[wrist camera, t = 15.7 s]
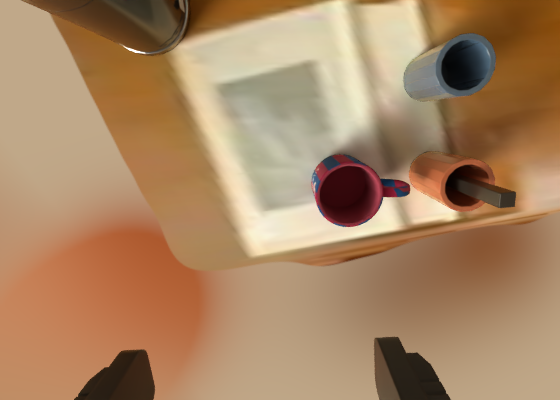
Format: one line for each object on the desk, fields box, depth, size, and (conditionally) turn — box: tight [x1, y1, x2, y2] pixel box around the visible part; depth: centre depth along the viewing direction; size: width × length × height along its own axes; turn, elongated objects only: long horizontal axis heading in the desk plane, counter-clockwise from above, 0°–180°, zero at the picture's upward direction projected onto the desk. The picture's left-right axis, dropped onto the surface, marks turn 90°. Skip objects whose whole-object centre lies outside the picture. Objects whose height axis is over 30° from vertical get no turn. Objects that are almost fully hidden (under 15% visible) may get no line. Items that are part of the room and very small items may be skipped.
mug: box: [312, 154, 410, 227], centre depth 34 cm, size 7×10×7 cm
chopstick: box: [445, 172, 516, 208], centre depth 30 cm, size 1×1×13 cm
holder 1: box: [404, 33, 496, 102], centre depth 30 cm, size 5×5×8 cm
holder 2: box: [409, 151, 495, 212], centre depth 33 cm, size 5×5×8 cm
